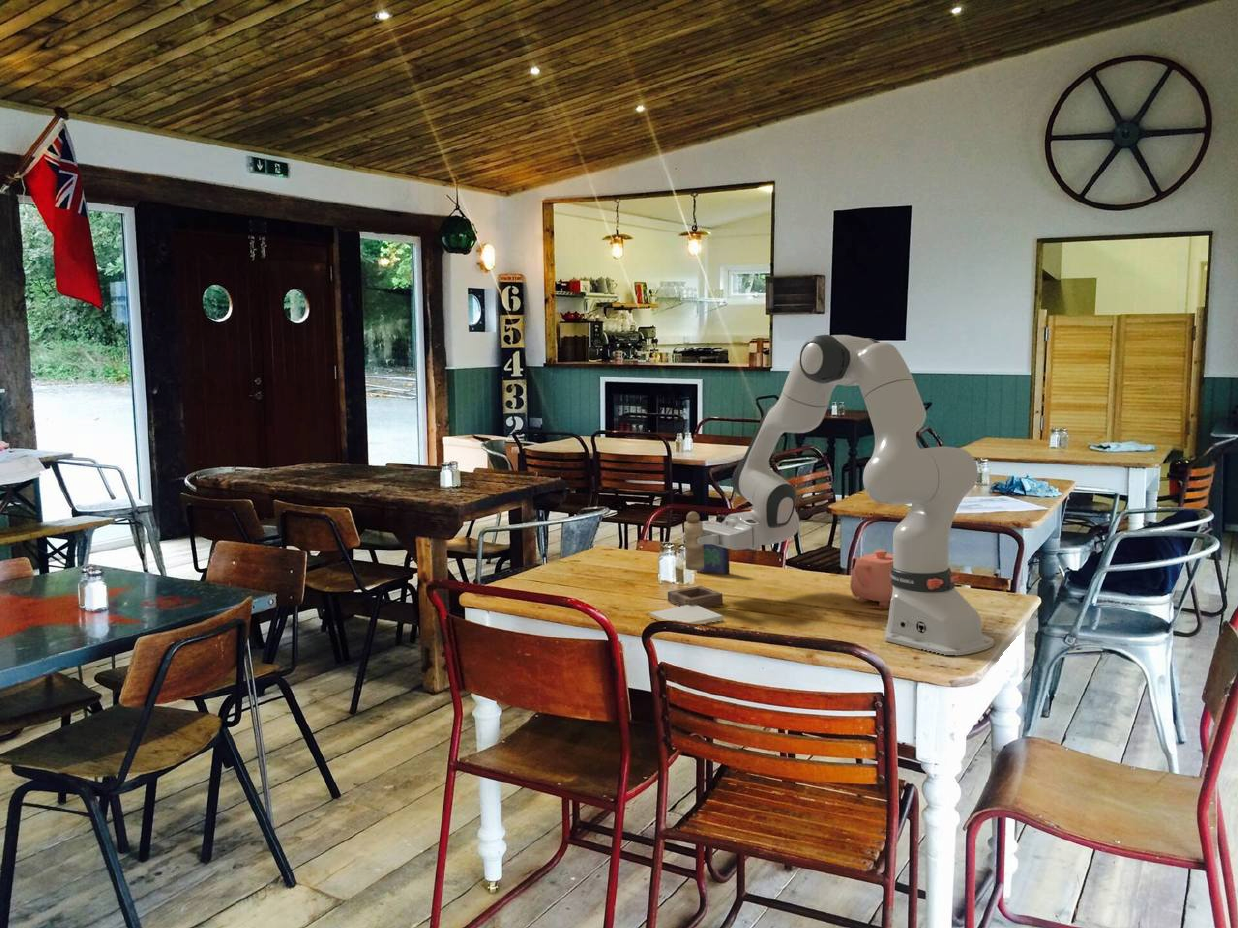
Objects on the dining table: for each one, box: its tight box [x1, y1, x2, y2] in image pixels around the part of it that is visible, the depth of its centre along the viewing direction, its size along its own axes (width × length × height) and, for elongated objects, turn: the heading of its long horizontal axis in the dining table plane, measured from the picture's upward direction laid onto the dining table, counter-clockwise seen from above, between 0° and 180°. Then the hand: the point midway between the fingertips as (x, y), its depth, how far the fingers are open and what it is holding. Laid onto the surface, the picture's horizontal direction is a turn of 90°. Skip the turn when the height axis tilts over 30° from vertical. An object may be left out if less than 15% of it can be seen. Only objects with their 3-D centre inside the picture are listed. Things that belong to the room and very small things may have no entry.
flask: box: [695, 544, 731, 576], centre depth 274 cm, size 9×3×11 cm, turn 65°
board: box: [648, 605, 724, 624], centre depth 233 cm, size 12×12×1 cm
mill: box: [683, 511, 704, 571], centre depth 243 cm, size 4×4×14 cm
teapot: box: [850, 549, 893, 608], centre depth 242 cm, size 20×12×12 cm, turn 131°
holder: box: [667, 585, 724, 609], centre depth 246 cm, size 9×9×2 cm
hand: (690, 539), depth 243 cm, fingers closed on mill, 4 cm apart
